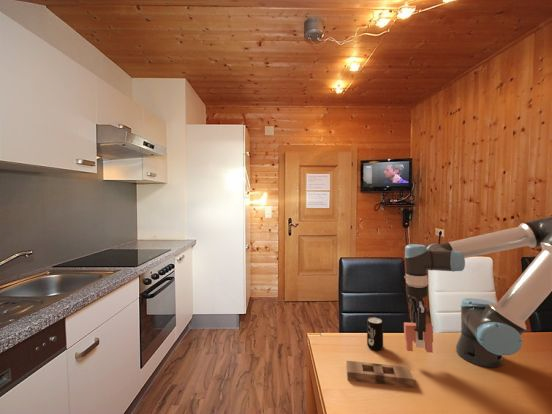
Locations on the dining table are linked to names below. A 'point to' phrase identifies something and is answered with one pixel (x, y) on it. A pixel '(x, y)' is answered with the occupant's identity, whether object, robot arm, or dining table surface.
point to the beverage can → (375, 333)
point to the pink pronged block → (411, 336)
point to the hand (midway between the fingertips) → (418, 344)
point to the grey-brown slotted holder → (379, 374)
